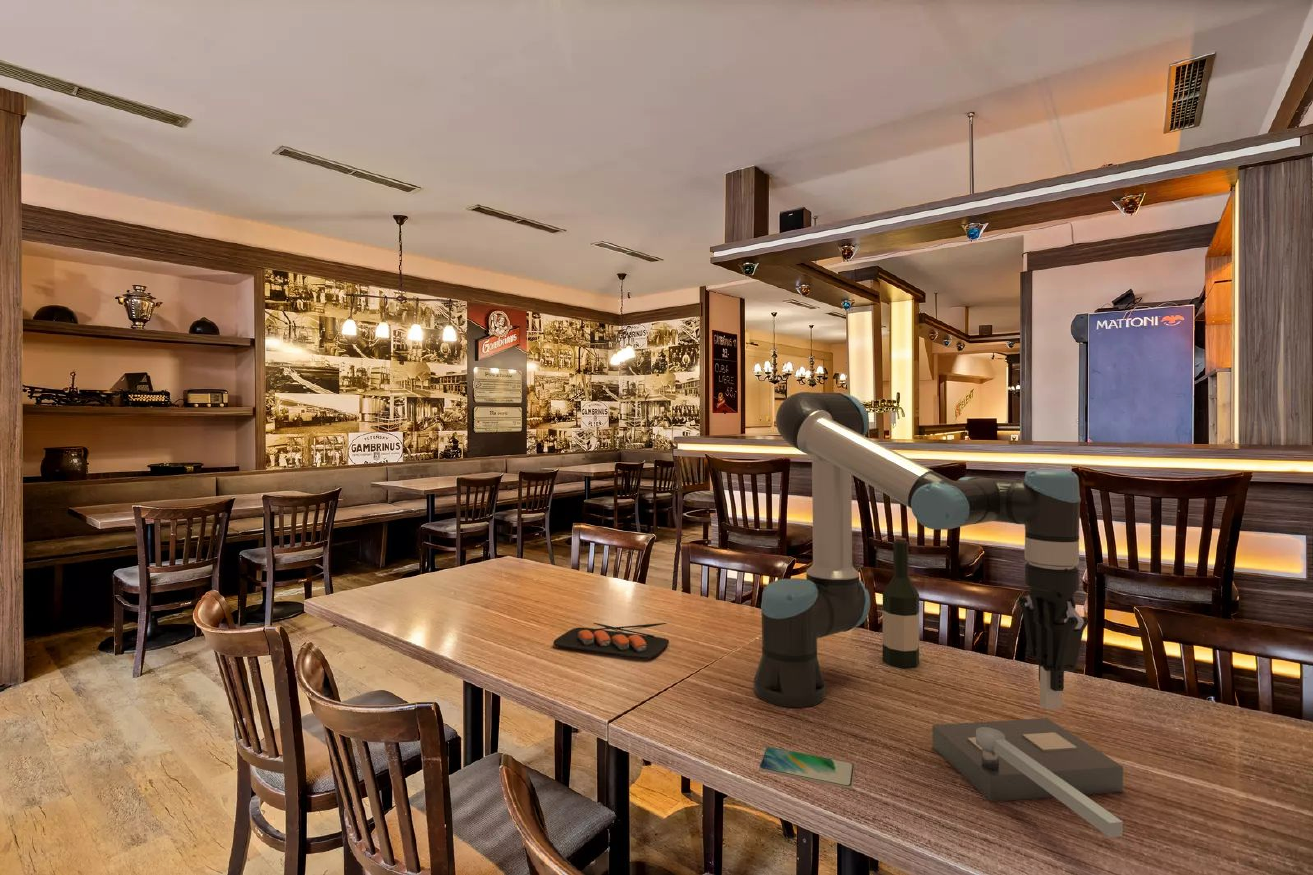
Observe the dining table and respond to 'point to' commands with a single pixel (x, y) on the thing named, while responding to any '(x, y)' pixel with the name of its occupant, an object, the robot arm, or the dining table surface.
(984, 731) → the lever
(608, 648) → the sushi plate
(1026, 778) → the grey base block
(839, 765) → the smartphone
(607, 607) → the dining table surface
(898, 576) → the wine bottle
